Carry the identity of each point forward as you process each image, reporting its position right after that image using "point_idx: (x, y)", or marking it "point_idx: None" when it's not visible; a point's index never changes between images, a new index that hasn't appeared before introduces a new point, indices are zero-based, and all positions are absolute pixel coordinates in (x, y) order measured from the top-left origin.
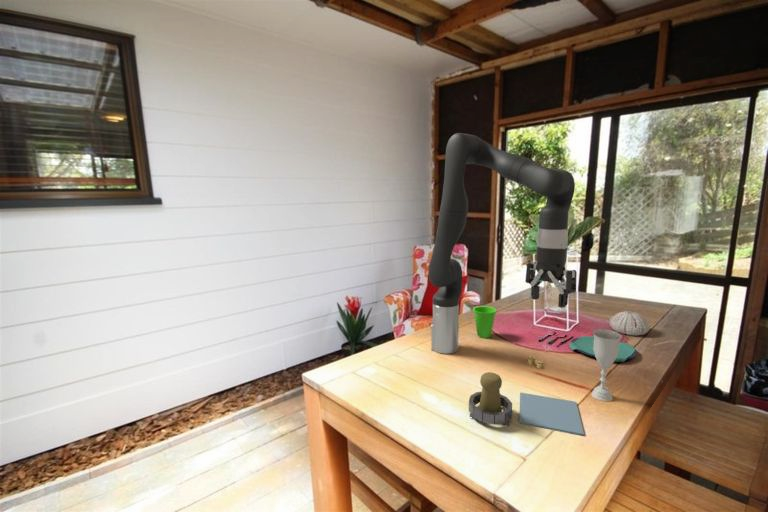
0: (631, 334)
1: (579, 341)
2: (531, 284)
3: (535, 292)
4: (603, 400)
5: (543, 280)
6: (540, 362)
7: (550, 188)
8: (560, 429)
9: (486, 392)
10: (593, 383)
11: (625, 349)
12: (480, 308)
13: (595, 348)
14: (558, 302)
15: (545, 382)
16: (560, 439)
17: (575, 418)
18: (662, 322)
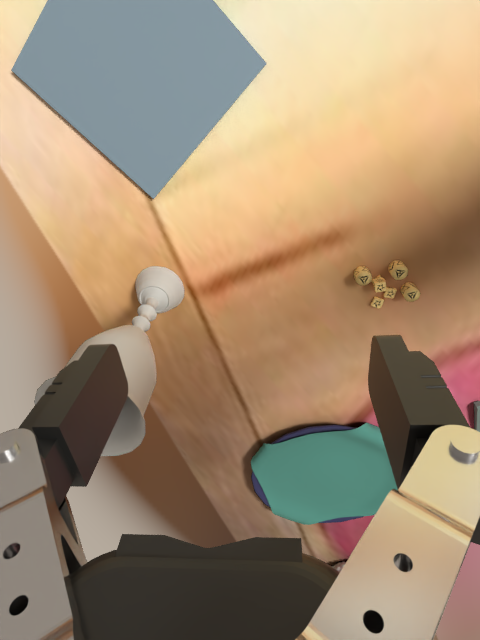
0: (337, 565)
1: (387, 471)
2: (469, 443)
3: (388, 393)
4: (140, 273)
5: (279, 549)
6: (376, 298)
7: None
8: (41, 13)
9: None
10: (216, 324)
11: (291, 503)
12: None
13: (116, 346)
14: (96, 363)
15: (280, 212)
16: None
17: (83, 118)
18: None
